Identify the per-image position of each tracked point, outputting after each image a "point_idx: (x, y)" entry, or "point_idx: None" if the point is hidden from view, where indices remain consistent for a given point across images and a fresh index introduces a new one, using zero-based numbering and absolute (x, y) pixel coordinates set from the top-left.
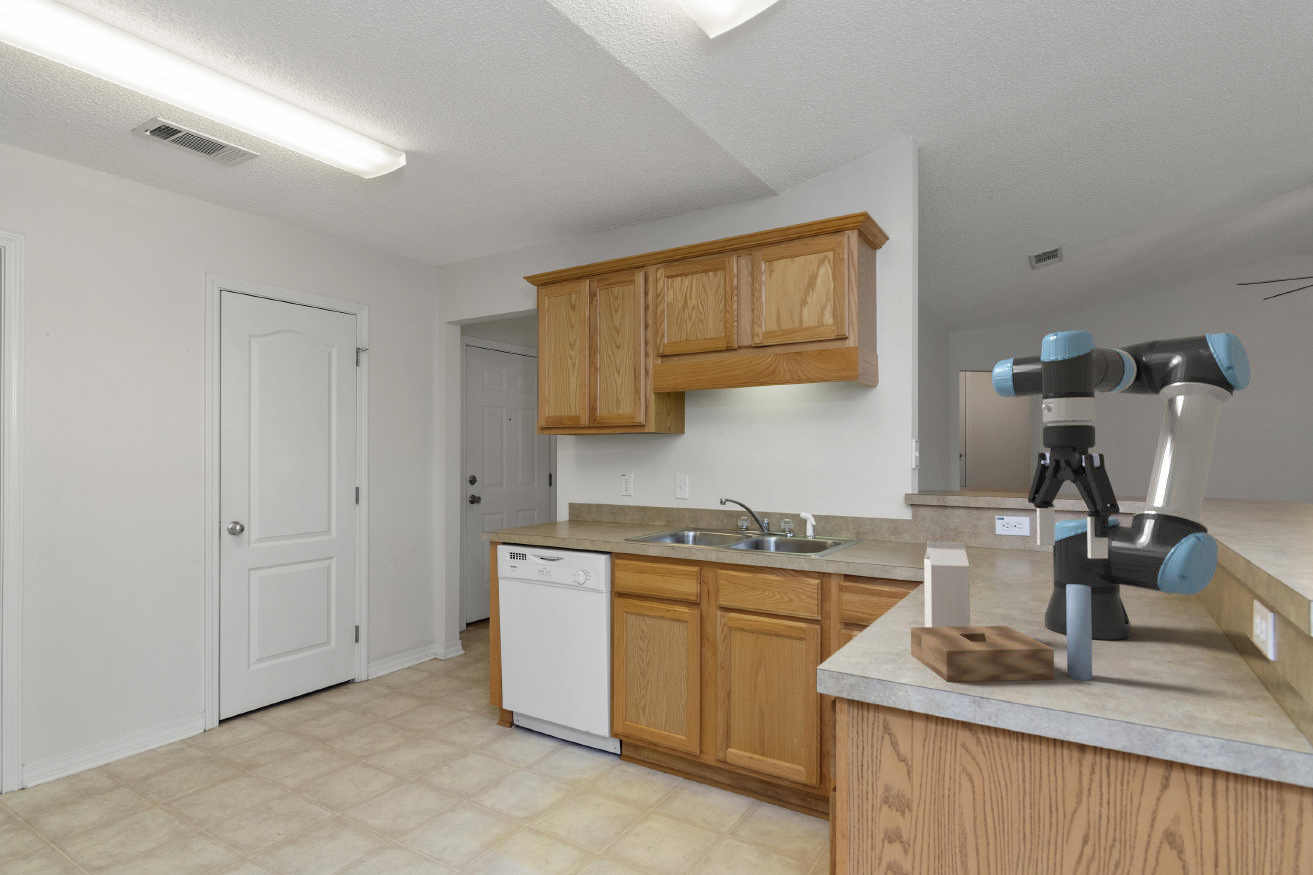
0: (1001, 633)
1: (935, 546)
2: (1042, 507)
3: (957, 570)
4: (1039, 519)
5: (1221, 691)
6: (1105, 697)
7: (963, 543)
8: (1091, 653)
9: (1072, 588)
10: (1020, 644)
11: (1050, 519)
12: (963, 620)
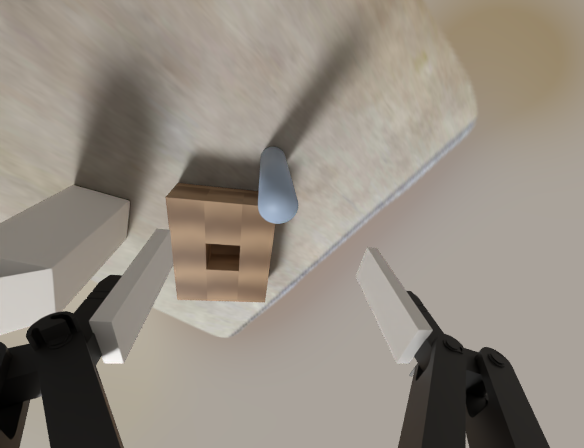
0: (206, 225)
1: None
2: (98, 352)
3: (60, 278)
4: (142, 323)
5: (359, 11)
6: (331, 181)
7: None
8: (285, 160)
9: (284, 221)
10: (255, 231)
11: (137, 295)
12: (114, 221)
